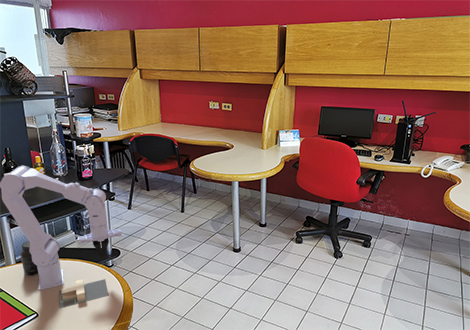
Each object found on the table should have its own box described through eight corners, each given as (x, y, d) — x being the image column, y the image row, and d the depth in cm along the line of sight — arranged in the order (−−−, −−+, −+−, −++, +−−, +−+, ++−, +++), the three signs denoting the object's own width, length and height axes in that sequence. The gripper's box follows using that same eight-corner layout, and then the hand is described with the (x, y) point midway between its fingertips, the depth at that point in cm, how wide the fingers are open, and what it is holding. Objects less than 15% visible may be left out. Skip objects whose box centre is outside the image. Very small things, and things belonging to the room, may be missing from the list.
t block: (62, 291, 123) (61, 284, 122) (84, 286, 126) (83, 279, 125) (63, 305, 116) (61, 298, 115) (85, 299, 119) (84, 292, 118)
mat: (59, 291, 123) (59, 290, 123) (105, 279, 130) (105, 279, 130) (59, 309, 115) (59, 308, 115) (108, 296, 121) (108, 295, 121)
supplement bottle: (26, 267, 136) (20, 240, 132) (45, 264, 138) (40, 237, 135) (22, 277, 130) (16, 249, 126) (43, 274, 132) (37, 246, 128)
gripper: (76, 232, 117) (81, 267, 121) (121, 224, 123) (124, 257, 127) (75, 223, 123) (80, 256, 127) (118, 216, 129) (121, 248, 133)
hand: (102, 256), depth 128 cm, fingers closed
